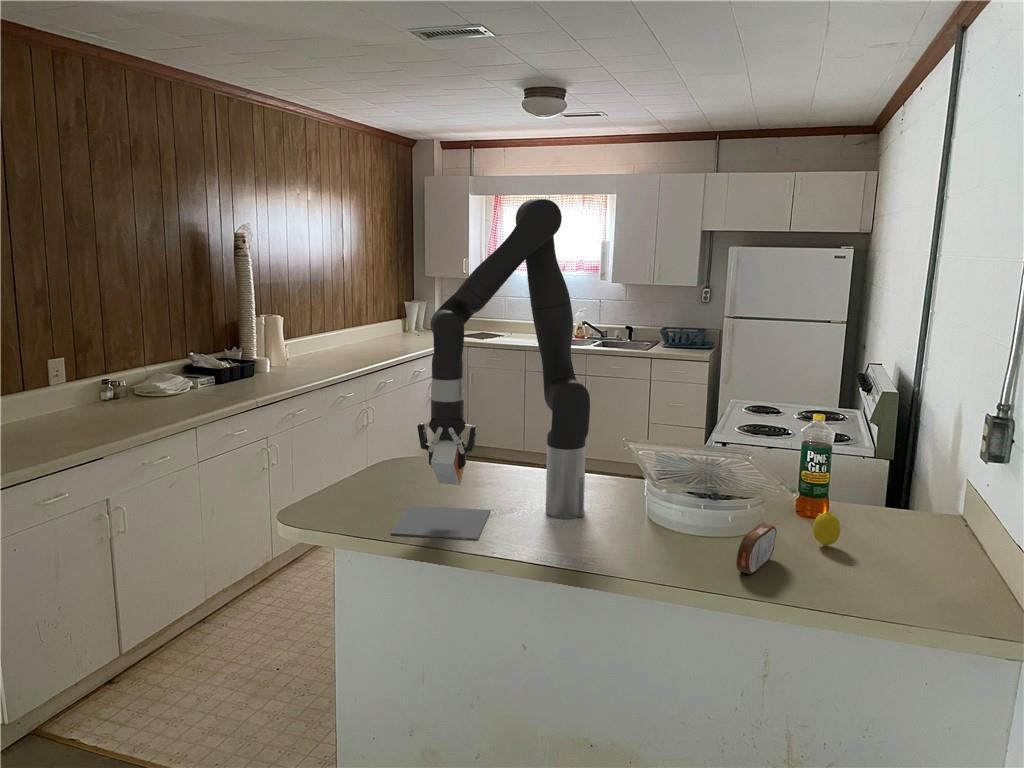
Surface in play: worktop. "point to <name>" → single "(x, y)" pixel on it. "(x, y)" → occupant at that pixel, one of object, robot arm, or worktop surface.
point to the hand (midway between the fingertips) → (447, 467)
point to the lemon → (826, 528)
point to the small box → (447, 462)
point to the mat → (442, 522)
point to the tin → (756, 548)
